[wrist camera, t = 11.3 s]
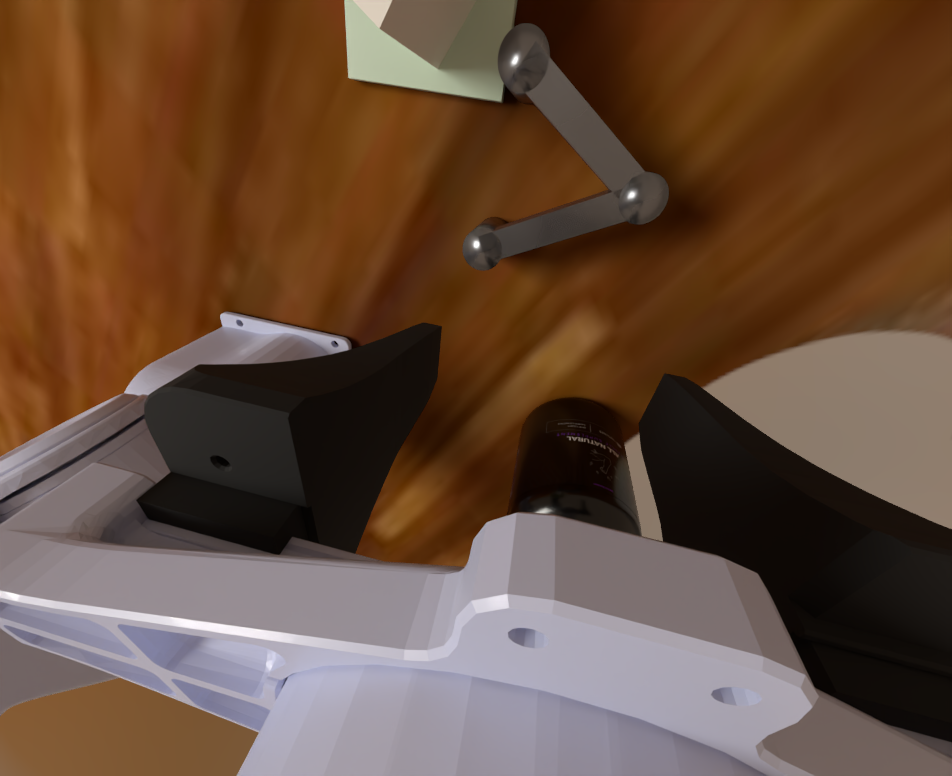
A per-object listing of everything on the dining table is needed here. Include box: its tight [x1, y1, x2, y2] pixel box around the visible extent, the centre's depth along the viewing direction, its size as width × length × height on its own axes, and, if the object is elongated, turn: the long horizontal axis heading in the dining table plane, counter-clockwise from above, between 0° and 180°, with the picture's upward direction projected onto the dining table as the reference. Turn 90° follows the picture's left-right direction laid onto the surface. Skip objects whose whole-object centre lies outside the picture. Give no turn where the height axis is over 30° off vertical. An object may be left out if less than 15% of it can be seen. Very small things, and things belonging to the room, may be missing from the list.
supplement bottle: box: [507, 398, 642, 536], centre depth 20 cm, size 7×7×12 cm
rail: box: [463, 23, 669, 270], centre depth 15 cm, size 8×8×4 cm
